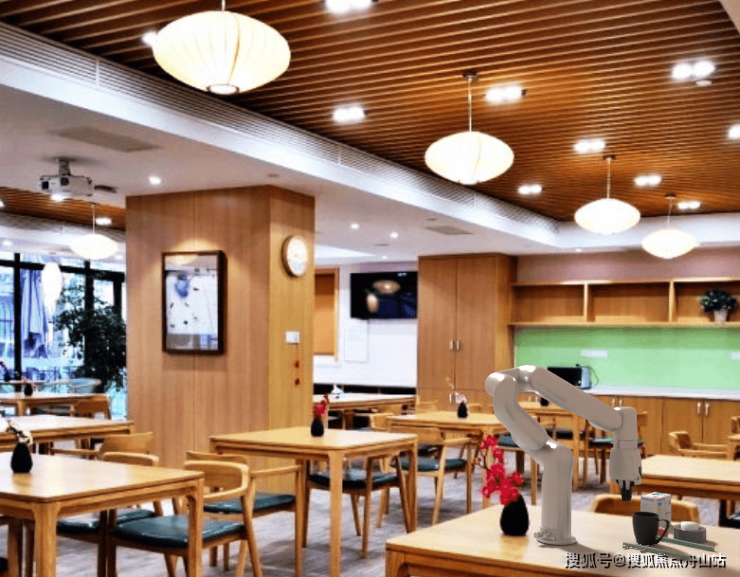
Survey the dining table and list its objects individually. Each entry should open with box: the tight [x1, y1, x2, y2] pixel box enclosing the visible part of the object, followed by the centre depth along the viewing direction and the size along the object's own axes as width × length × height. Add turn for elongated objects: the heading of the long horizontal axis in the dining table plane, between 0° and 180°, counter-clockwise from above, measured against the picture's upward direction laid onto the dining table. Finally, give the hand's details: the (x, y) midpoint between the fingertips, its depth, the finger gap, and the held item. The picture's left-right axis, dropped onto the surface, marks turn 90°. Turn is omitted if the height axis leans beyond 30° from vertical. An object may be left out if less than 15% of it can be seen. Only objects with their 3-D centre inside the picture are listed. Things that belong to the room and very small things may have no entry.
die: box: [657, 527, 669, 538], centre depth 297 cm, size 3×3×3 cm
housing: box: [672, 523, 707, 545], centre depth 294 cm, size 10×10×4 cm
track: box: [622, 536, 715, 562], centre depth 282 cm, size 20×22×1 cm
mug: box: [631, 510, 671, 547], centre depth 287 cm, size 8×12×10 cm
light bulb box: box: [640, 491, 672, 528], centre depth 315 cm, size 11×7×11 cm, turn 136°
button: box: [680, 520, 700, 530], centre depth 294 cm, size 6×6×5 cm
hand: (626, 500), depth 294 cm, fingers closed
